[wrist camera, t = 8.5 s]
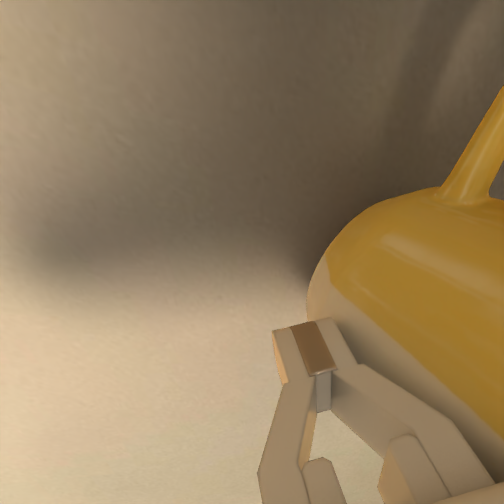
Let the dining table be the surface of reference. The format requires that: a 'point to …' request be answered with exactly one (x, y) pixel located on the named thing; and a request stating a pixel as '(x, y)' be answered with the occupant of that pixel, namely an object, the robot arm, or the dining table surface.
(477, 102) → the dining table surface
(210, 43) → the dining table surface
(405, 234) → the mug
